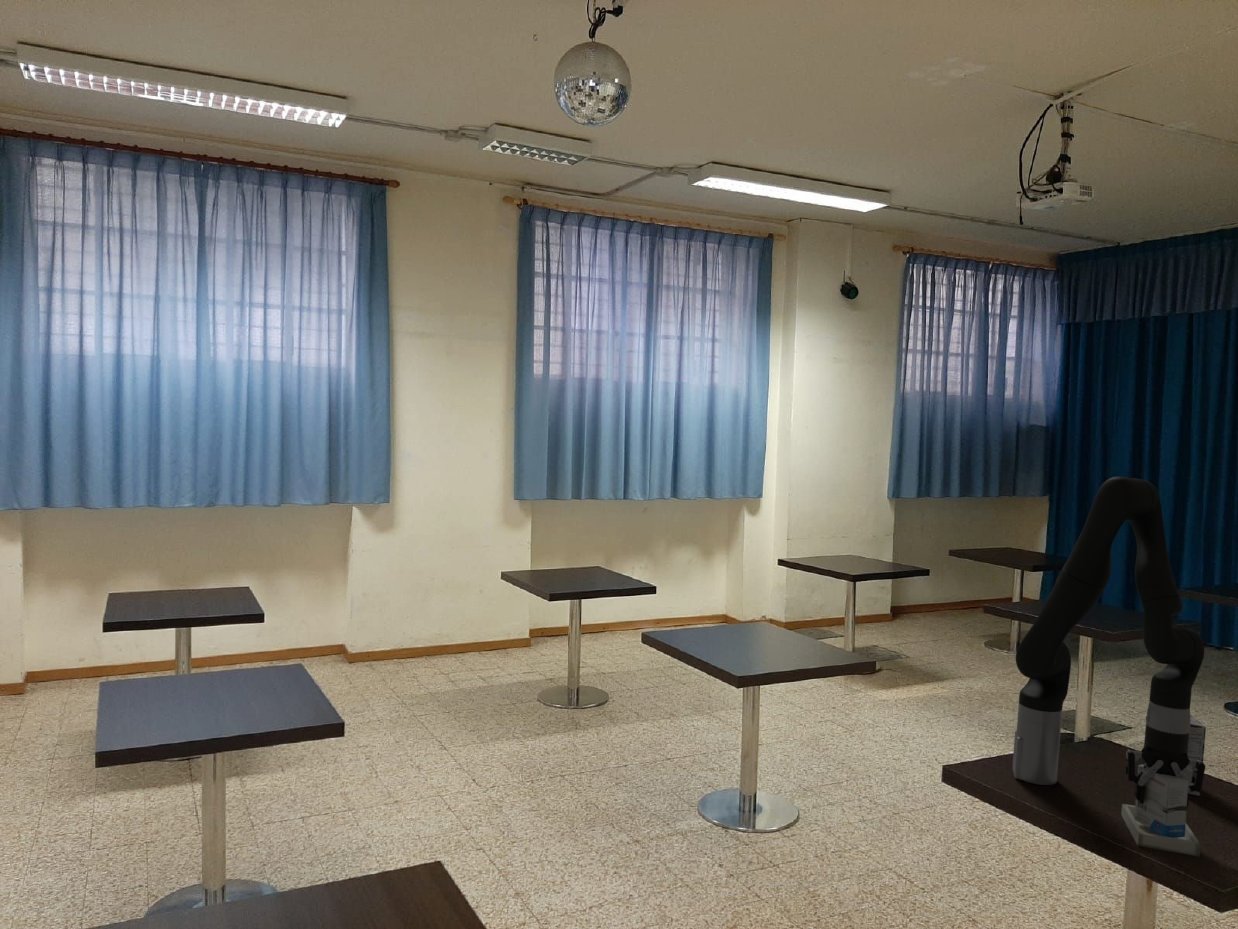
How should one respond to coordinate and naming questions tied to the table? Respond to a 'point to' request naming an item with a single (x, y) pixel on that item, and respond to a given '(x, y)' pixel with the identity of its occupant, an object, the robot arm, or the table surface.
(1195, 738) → the candy bar box
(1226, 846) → the table surface
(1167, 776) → the ink box
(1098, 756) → the table surface
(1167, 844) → the tray
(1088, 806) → the table surface
